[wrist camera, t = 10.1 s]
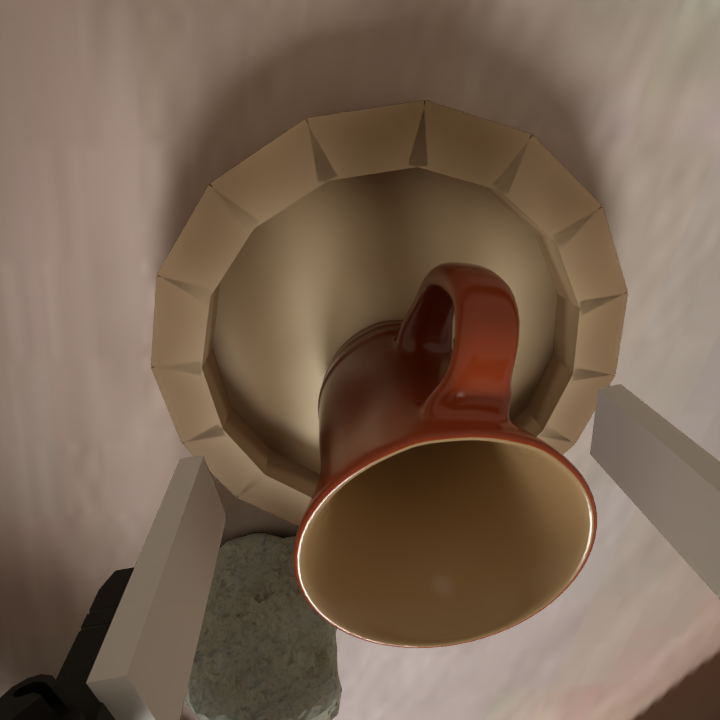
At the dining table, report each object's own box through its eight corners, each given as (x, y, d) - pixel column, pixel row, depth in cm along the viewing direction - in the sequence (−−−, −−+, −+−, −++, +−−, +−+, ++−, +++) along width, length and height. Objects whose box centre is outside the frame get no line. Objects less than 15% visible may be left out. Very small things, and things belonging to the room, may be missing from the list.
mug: (461, 454, 24) (544, 648, 15) (300, 447, 23) (286, 651, 14) (522, 232, 19) (708, 323, 10) (317, 209, 18) (312, 288, 9)
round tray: (238, 520, 26) (229, 561, 24) (102, 151, 17) (65, 155, 15) (570, 468, 26) (596, 502, 24) (613, 73, 17) (662, 63, 15)
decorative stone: (243, 474, 25) (99, 667, 19) (411, 581, 24) (317, 818, 18) (234, 528, 35) (140, 663, 29) (351, 604, 34) (279, 759, 28)
